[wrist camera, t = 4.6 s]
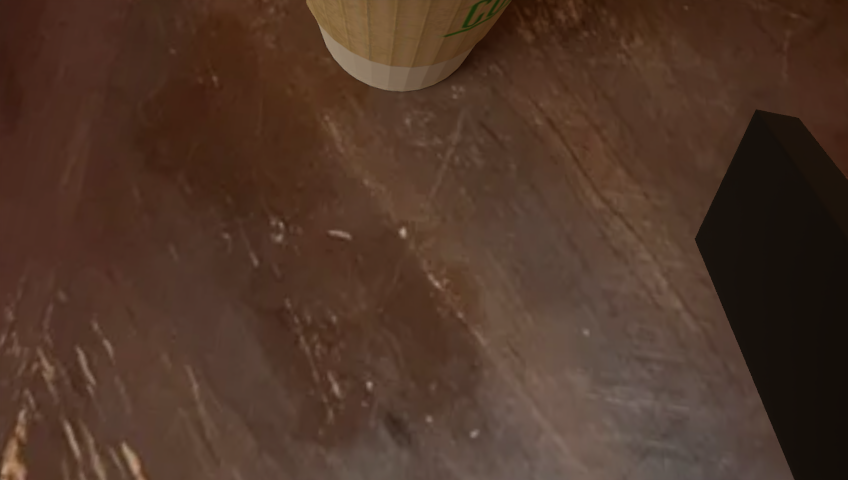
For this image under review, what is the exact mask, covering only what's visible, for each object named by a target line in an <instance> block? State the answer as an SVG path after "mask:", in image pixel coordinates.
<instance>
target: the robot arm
mask: <svg viewBox="0 0 848 480" xmlns="http://www.w3.org/2000/svg"><path fill="white" fill-rule="evenodd" d="M695 241H696V243H697V246H698V248H699V251H700V253H701V255H702V258H703V260H704V263H705V265H706V267H707V270H708V272H709V275H710V277H711V279H712V282H713V284H714V287H715V289H716V292H717V294H718V296H719V299H720V301H721V304H722V306H723V308H724V311H725V313H726V316H727V318H728V320H729V323H730V325H731V328H732V330H733V332H734V335H735V337H736V340H737V342H738V345H739V347H740V349H741V352H742V354H743V357H744V359H745V361H746V364H747V366H748V369H749V371H750V373H751V376H752V378H753V381H754V383H755V385H756V388H757V390H758V393H759V395H760V398H761V400H762V402H763V405H764V407H765V410H766V412H767V414H768V417H769V419H770V422H771V424H772V426H773V429H774V431H775V434H776V436H777V438H778V441H779V443H780V446H781V448H782V451H783V453H784V455H785V458H786V460H787V463H788V465H789V467H790V470H791V472H792V475H793V477H794V479H795V480H848V180H847V179H846V178H845V176H844V175H843V174H842V172H841V171H840V170H839V169H838V167H837V166H836V165H835V164H834V162H833V161H832V160H831V158H830V157H829V156H828V155H827V153H826V152H825V151H824V150H823V148H822V147H821V146H820V145H819V143H818V142H817V141H816V139H815V138H814V137H813V136H812V134H811V133H810V132H809V131H808V129H807V128H806V127H805V125H804V124H803V123H802V122H801V120H800V119H799V118H796V117H791V116H786V115H781V114H776V113H771V112H766V111H761V110H756V111H755V113H754V115H753V117H752V119H751V121H750V123H749V125H748V128H747V130H746V132H745V134H744V136H743V138H742V140H741V142H740V144H739V147H738V149H737V151H736V153H735V155H734V157H733V159H732V161H731V164H730V166H729V168H728V170H727V172H726V174H725V176H724V178H723V180H722V183H721V185H720V187H719V189H718V191H717V193H716V195H715V197H714V200H713V202H712V204H711V206H710V208H709V210H708V212H707V214H706V216H705V219H704V221H703V223H702V225H701V227H700V229H699V231H698V233H697V236H696V238H695Z"/></svg>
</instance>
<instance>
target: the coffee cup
mask: <svg viewBox="0 0 848 480" xmlns="http://www.w3.org/2000/svg"><path fill="white" fill-rule="evenodd" d="M306 2H307V5H308V7H309V9H310V10H311V12H312V14H313V15H314V17H315V18H316V20H317V22H318V24H319V27H320V30H321V33H322V36H323V38H324V41H325V44H326V46H327V48H328V49H329V51H330V53H331V54H332V56H333V58H334V59H335V60H336V61H337V62H338V63H339V64H340V65H341V67H342V68H343V69H344V70H345V71H347V72H348V73H349V74H351V75H352V76H353V77H355V78H356V79H358V80H360V81H362V82H364V83H366V84H368V85H370V86H373V87H376V88H380V89H384V90H389V91H412V90H419V89H422V88H426V87H429V86H432V85H434V84H436V83H438V82H440V81H442V80H443V79H445V78H447V77H448V76H449V75H450V74H452V73H453V72H454V71H455V70H456V69H458V67H459V66H460V65H461V64H462V62H463V61H464V60H465V58H466V57H467V56H468V54H469V53H470V52H471V50H472V49H473V47H474V46H475V44H476V43H478V42H479V41H480V40H481V39H482V38H483V37H484V36H485V35H486V34H487V33H488V31H489V30H490V29H491V27H492V26H493V25H494V24H495V22H496V21H497V20H498V18H499V17H500V15H501V14H502V13H503V11H504V10H505V9H506V7H507V6H508V4H509V3H510V2H511V0H306Z"/></svg>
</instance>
